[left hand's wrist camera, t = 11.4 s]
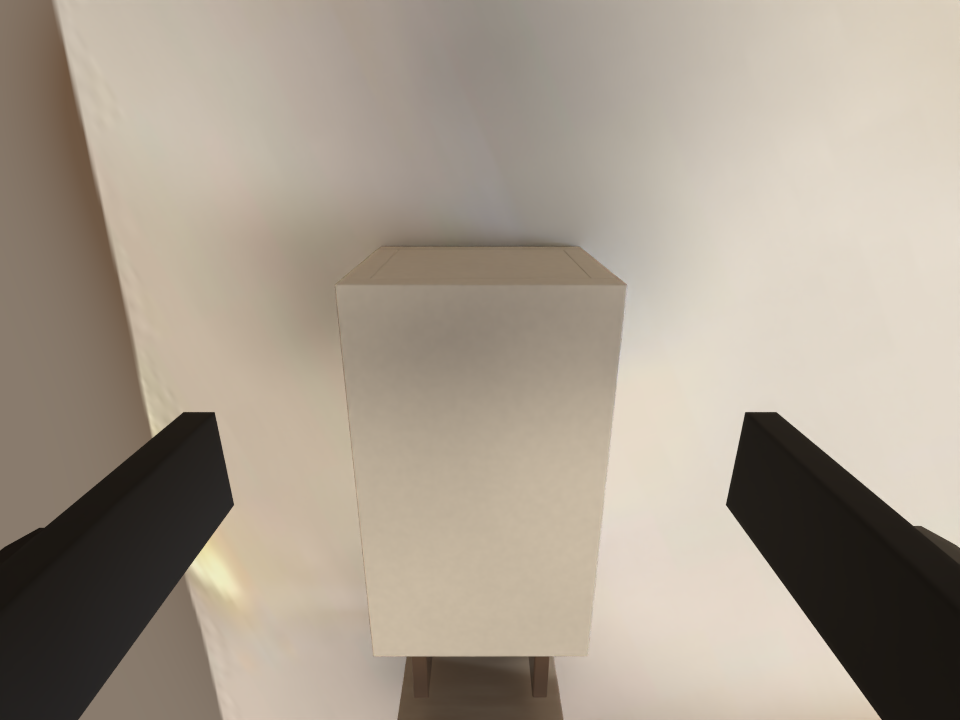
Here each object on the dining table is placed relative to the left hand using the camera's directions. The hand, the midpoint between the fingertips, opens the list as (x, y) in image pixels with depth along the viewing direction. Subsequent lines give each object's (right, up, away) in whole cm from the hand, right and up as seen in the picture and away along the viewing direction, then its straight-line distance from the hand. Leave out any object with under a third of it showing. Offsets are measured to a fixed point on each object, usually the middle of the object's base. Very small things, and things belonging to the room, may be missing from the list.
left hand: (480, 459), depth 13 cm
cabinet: (0, 0, +17) cm, 17 cm away
